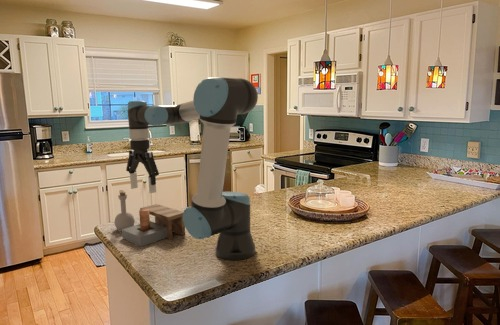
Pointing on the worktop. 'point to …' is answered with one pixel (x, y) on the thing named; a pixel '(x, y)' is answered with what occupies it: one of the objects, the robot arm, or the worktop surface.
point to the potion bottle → (123, 214)
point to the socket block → (145, 234)
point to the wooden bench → (168, 219)
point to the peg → (144, 220)
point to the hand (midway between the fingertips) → (143, 190)
